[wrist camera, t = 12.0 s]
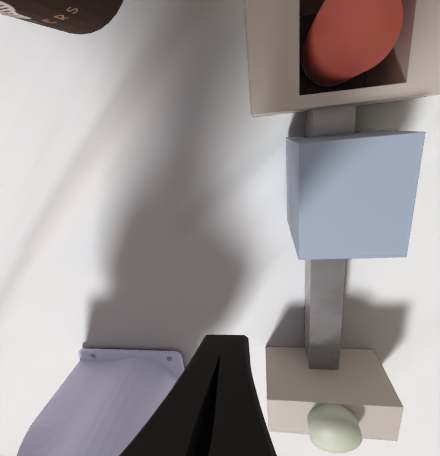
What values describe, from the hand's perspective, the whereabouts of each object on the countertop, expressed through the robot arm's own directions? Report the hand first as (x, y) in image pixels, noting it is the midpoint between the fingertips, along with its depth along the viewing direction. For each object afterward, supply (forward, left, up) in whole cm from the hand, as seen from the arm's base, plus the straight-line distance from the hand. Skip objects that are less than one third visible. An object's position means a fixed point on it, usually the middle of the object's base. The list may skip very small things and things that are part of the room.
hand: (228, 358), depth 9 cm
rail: (+5, -1, -10) cm, 12 cm away
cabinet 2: (+5, -11, -10) cm, 16 cm away
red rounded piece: (+5, +10, -9) cm, 14 cm away
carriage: (+5, +4, -10) cm, 12 cm away
